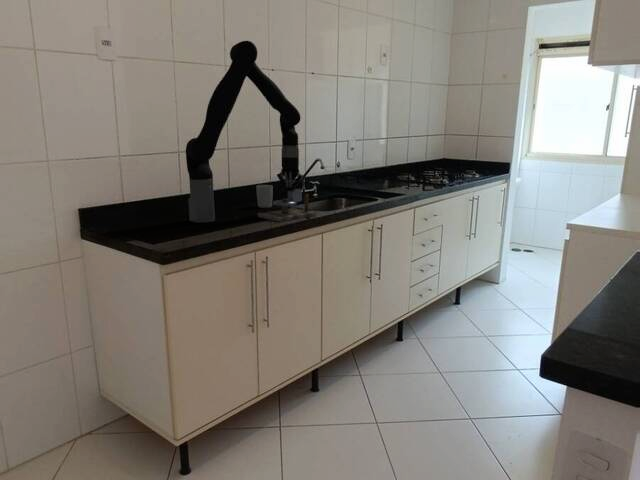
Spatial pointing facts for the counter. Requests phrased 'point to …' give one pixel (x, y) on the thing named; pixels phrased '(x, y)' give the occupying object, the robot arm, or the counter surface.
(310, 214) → the flange base
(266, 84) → the robot arm
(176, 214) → the counter surface
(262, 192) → the white cup
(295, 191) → the flange
